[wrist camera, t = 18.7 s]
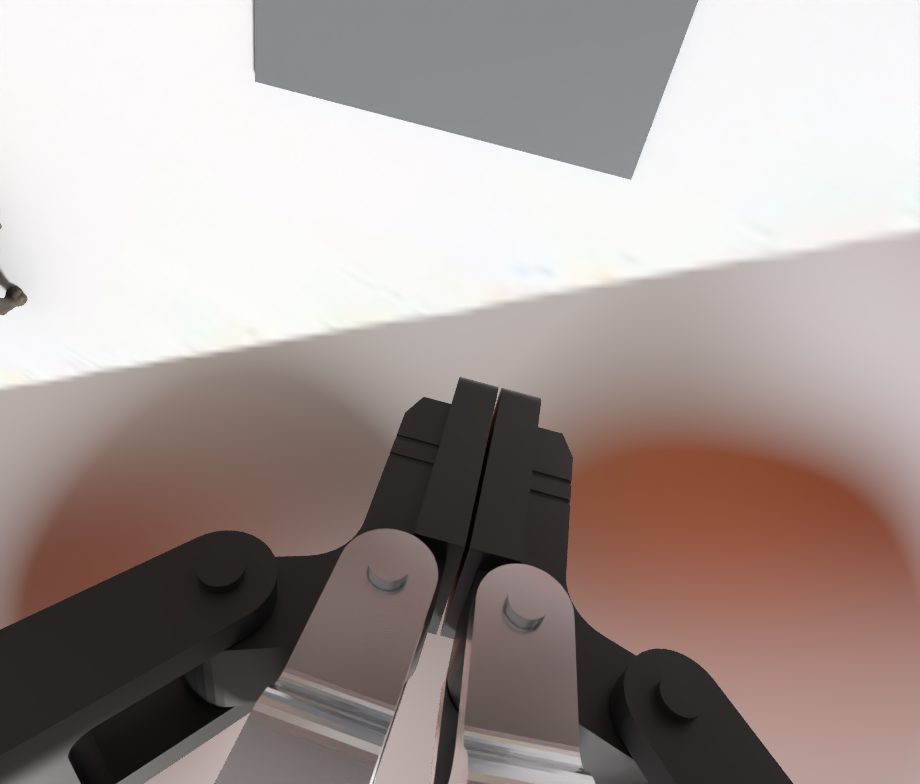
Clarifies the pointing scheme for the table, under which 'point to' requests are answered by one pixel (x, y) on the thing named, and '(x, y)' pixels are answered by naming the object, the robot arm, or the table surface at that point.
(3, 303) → the rhino figurine
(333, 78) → the card
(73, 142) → the table surface
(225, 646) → the robot arm
